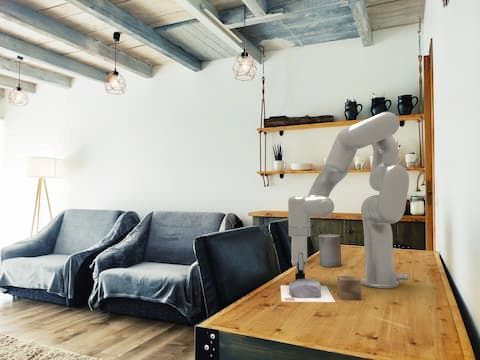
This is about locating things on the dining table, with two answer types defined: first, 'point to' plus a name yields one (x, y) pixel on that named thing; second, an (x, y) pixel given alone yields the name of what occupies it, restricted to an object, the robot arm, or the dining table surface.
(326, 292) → the letter
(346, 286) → the walnut cube
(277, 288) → the dining table surface
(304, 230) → the robot arm
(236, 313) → the dining table surface
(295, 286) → the stone block
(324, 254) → the pillar candle
